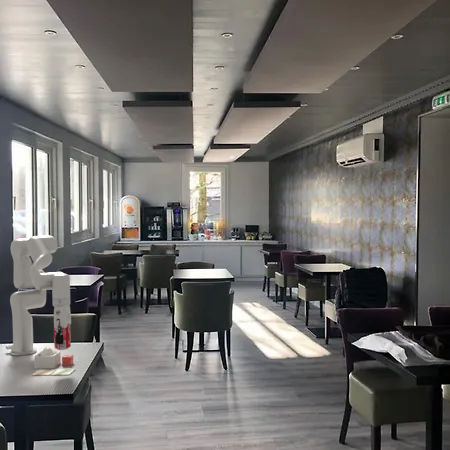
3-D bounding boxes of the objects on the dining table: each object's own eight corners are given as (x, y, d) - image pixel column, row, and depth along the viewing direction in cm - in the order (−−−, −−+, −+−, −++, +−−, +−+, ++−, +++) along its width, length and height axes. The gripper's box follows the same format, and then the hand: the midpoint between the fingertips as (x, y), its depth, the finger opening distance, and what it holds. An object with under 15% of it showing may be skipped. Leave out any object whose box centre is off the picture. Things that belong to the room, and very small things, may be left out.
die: (62, 365, 249) (61, 356, 249) (64, 363, 253) (64, 354, 253) (70, 365, 249) (70, 356, 249) (73, 363, 253) (73, 354, 253)
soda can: (66, 345, 242) (65, 319, 242) (73, 348, 237) (73, 321, 237) (51, 348, 237) (50, 321, 237) (59, 351, 232) (58, 324, 232)
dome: (38, 360, 247) (38, 349, 247) (43, 356, 253) (43, 345, 253) (52, 360, 247) (52, 348, 246) (56, 356, 253) (56, 345, 253)
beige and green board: (31, 375, 234) (31, 374, 234) (38, 370, 242) (38, 369, 242) (69, 375, 234) (69, 374, 234) (74, 369, 242) (74, 369, 242)
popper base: (34, 368, 245) (34, 356, 245) (41, 362, 254) (41, 351, 254) (54, 368, 245) (54, 356, 245) (60, 362, 254) (60, 351, 254)
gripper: (63, 304, 228) (64, 346, 229) (75, 298, 246) (76, 337, 246) (46, 305, 228) (47, 346, 229) (59, 298, 246) (60, 337, 246)
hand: (62, 341), depth 237 cm, fingers closed on soda can, 7 cm apart
